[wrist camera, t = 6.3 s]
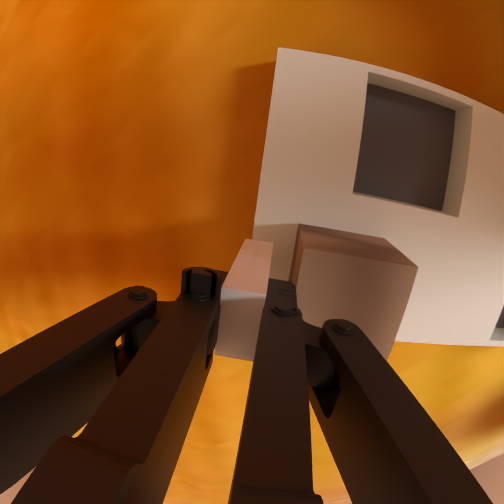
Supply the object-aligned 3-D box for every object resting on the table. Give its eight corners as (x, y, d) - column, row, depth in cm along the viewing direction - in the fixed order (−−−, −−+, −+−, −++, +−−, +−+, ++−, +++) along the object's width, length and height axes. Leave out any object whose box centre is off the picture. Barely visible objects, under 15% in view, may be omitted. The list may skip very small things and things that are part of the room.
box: (245, 303, 21) (235, 338, 17) (279, 60, 17) (277, 33, 12) (525, 333, 20) (550, 357, 16) (568, 163, 15) (601, 168, 11)
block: (283, 306, 18) (282, 354, 14) (298, 223, 17) (303, 248, 12) (363, 317, 18) (384, 365, 13) (384, 238, 17) (418, 267, 12)
